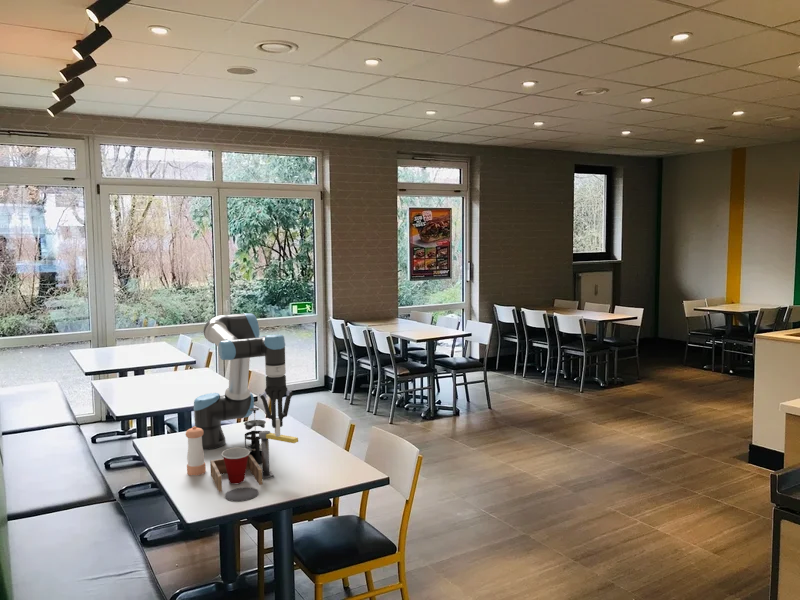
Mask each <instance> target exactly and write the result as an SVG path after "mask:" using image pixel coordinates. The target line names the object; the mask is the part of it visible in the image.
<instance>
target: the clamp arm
mask: <svg viewBox="0 0 800 600" xmlns="http://www.w3.org/2000/svg"><path fill="white" fill-rule="evenodd" d="M260 431H261V432H259V434H258V436H259V438H260V439H259V440H261V439H268V440H274V441H279V442H284V443H290V444H296V443H299V438H298V437H297V436H291V435H285V434H280V436H277V437H276V435H275V432H274V433H273V432H271V431H270V430H260Z"/></svg>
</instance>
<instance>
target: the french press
mask: <svg viewBox="0 0 800 600" xmlns="http://www.w3.org/2000/svg"><path fill="white" fill-rule="evenodd" d="M249 410H250V411H253V412H252V414H253V415H254V416H253V417H254V418H253V420H251V419H250V420H247V421H245V422H244V423H243V425H244V427H245V430H247V431H249V432H245V434H244V448H246V449H248V450H249V451H250V453H249V455H250V454H251V455H252V456H253V458H254V459H255V461H256V462H257V463H258V465H262V446H261V443H260V440H261V439H260V438H259V432H261V431H262V430H256V429H257V427H261V428H262V429H264V428H265V427H266V426H265V424H266V420H263V419H256V413H257V411H259V410H260V408H259V407H254V408H251V409H249ZM253 428H254V430H251V429H253ZM250 430H251V431H250ZM257 435H258V436H257ZM247 440H249V441H250V442H251V444H248V445H247Z"/></svg>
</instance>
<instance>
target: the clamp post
mask: <svg viewBox="0 0 800 600" xmlns="http://www.w3.org/2000/svg"><path fill="white" fill-rule="evenodd" d="M260 441H261V443H260V444H261V446H262V464H261V467H262V468H261V469H262V480H268V479H273V478H275V474H274V473H273V472H272V471H270V447H269V446H270V443H269V441H270V440H269V439H260Z"/></svg>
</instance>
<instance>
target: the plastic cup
mask: <svg viewBox="0 0 800 600" xmlns="http://www.w3.org/2000/svg"><path fill="white" fill-rule="evenodd" d="M249 453H250V451H249V450H248V449H246V448H245V447H231V448H227V449H225V450H223V451H222V452H221V456H222V459H224V461H225V466H226V471H227V474H226V475H227V479H228V482H229V483H230V484H232V485H237V484H241V483H244V482H245V479H246V472H247V470H246V467H247V459H248V455H249Z"/></svg>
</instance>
